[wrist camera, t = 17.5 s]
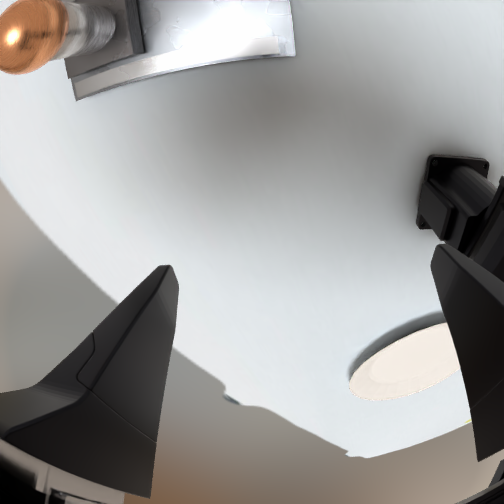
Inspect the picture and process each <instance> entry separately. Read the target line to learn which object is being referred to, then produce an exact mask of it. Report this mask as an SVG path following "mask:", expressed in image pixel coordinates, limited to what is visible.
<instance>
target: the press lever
mask: <svg viewBox="0 0 504 504" xmlns="http://www.w3.org/2000/svg"><path fill="white" fill-rule="evenodd" d="M143 53H144V48H143V42H142V36H141V30H140V24H139V17H138V10H137V3H136V0H77V1H75V2H65V1H61V0H18V1H16V2H14V3H13V4H11V5H10V6H9V7H8V8H7V9H6V10H5V11H4V12H3V13H2V14H1V15H0V70H1V71H3V72H5V73H8V74H15V75H19V74H25V73H29V72H32V71H34V70H36V69H38V68H40V67H42V66H43V65H45V64H46V63H47V62H48V61H52V60H57V59H62V58H64V60H65V65H66V70H67V75H68V79H69V78H73V77H76V76H80V75H83V74H86V73H88V72H91V71H93V70H96V69H98V68H101V67H104V66H107V65H109V64H112V63H115V62H118V61H121V60H124V59H127V58H130V57H133V56H137V55H140V54H143Z"/></svg>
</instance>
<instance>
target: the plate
mask: <svg viewBox="0 0 504 504" xmlns="http://www.w3.org/2000/svg"><path fill="white" fill-rule="evenodd" d="M459 369H460V364H459V361H458V357H457V354H456V350H455V347H454V343H453V340H452V337H451V334H450V331H449V328H448V325H447V322H446V323H442V324H437V325H433V326H431V327H428V328H425V329H422V330H420V331H417V332H414V333H412V334H410V335H408V336H406V337H404V338H402V339H400V340H397V341H395V342H394V343H392V344H390V345H389V346H387V347H385V348H384V349H382V350H380V351H379V352H377V353H376V354H374V355H373V356H372V357H370V358H369V359H368V360H366V361H365V362H364V363H363V364H362V365H361V366H360V367H359V368H358V369H357V370H356V371H355V372H354V374H353V376H352V378H351V380H350V382H349V389H350V391H351V392H352V393H353V395H355V396H357V397H359V398H361V399H367V400H389V399H396V398H400V397H404V396H408V395H411V394H414V393H417V392H420V391H422V390H425V389H427V388H429V387H431V386H434V385H435V384H437V383H439V382H441V381H442V380H444V379H446V378H448V377H449V376H450V375H452V374H453V373H455V372H456V371H457V370H459Z"/></svg>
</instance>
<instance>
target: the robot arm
mask: <svg viewBox="0 0 504 504" xmlns="http://www.w3.org/2000/svg"><path fill="white" fill-rule="evenodd" d="M434 160H435V163H434V164H432V163H433V161H434ZM484 164H485V165H484ZM483 166H484V167H483ZM488 170H489V162H488V161H487V160H485V159H480V158H470V157H459V156H445V155H431V156H429V158H428V160H427V167H426V174H425V180H424V182H423V186H422V192H421V197H420V202H419V207H418V211H419V212H418V217H417V222H416V224H417V226H418V228H419V229H433V231H434V232H435V234H436V235H437V236H438V238H439V239H440V241H444V242H445V243H446V244H439V245H437V246H436V248H435V251H434V254H433V257H432V261H431V271H432V275H433V278H434V282H435V285H436V289H437V292H438V296H439V300H440V303H441V307H442V310H443V313H444V316H445V319H446V322H447V325H448V328H449V331H450V334H451V337H452V340H453V343H454V347H455V350H456V354H457V357H458V361H459V364H460V368H461V372H462V376H463V380H464V384H465V388H466V393H467V398H468V402H469V407H470V413H471V419H472V424H473V431H474V437H475V445H476V453H477V460H478V462H480V461H482V460H483V459H485V458H488V457H490V456H491V455H493V454H495V453H497V452H499V451H501V450H502V449H504V176H501V179H500V181H499V183H500V184H499V186H498V188H496V187H495V186H494V185H493V184H492V183H491V182H489V181H488V180H487V174H488ZM422 222H423V224H421V223H422ZM178 294H179V284H178V281H177V278H176V276H175V273H174V270H173V268H172V266H171V265H160V266H158V267H157V268H156V269H155V270H154V271H153V272H152V273H151V274H150V275H149V276H148V277H147V278H146V279H144V280H143V281H142V282H141V283H140V284H139V285H138V286H137V287H136V288H135V289H134V290H133V291H132V292H131V293H130V294H129V295H128V296H127V297H126V298H125V299H124V300H123V301H122V302H121V303H120V304H119V305H118V306H117V307H116V308H115V309H114V310H113V311H112V312H111V313H110V314H109V315H108V316H107V317H106V318H105V319H104V320H103V321H102V322H101V323H100V324H99V325H98V326H97V327H96V328H95V329H94V330H93V332H91V333H90V334H89V335H88V337H86V339H85V340H84V341H83V342H82V343H81V344H80V345H79V346H78V347H77V348H76V349H75V350H74V351H72V353H70V354H69V355H68V356H67V357H66V358H65V359H64V360H63V361H62V362H61V363H60V364H59V365H57V366H56V367H55V368H54V369H53V370H52V371H51V372H50V373H49V374H48V375H46V376H45V377H44V378H43V379H42V380H41V381H40V382H38V383H37V384H35V385H34V386H32V387H29V388H26V389H21V390H16V391H10V392H4V393H0V504H123V501H124V494H125V493H128V494H132V495H137V496H140V497H145V498H149V499H150V496H151V488H152V478H153V469H154V460H155V452H156V442H157V435H158V429H159V421H160V415H161V408H162V402H163V396H164V390H165V384H166V378H167V372H168V366H169V361H170V355H171V350H172V345H173V339H174V334H175V328H176V317H177V305H178ZM456 504H504V459H503V460H502V461H500V464H499V466H498V468H497V470H496V473H495V475H494V477H493V479H492V481H491V483H490V485H489V487H488V488H486V489H485V490H483V491H481V492H479V493H477V494H475V495H473V496H471V497H469V498H467V499H465V500H462V501H460V502H458V503H456Z"/></svg>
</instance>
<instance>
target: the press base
mask: <svg viewBox="0 0 504 504" xmlns="http://www.w3.org/2000/svg"><path fill="white" fill-rule="evenodd" d="M61 1H65V2H75V1H77V0H61ZM136 3H137V10H138V17H139V24H140V30H141V36H142V42H143V48H144V53H143V54H140V55H137V56H133V57H130V58H127V59H124V60H121V61H118V62H115V63H112V64H109V65H107V66H104V67H101V68H98V69H96V70H93V71H91V72H88V73H86V74H83V75H80V76H76V77H73V78H71V82H72V86H73V90H74V95H75V99H76V101H78V100H81V99H83V98H86V97H88V96H91V95H94V94H97V93H100V92H102V91H105V90H108V89H111V88H114V87H117V86H121V85H124V84H127V83H131V82H134V81H138V80H141V79H145V78H149V77H152V76H156V75H160V74H165V73H169V72H173V71H178V70H183V69H188V68H193V67H198V66H204V65H210V64H216V63H223V62H230V61H238V60H246V59H256V58H268V57H284V56H296V52H295V42H294V32H293V23H292V15H291V7H290V0H136Z"/></svg>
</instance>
